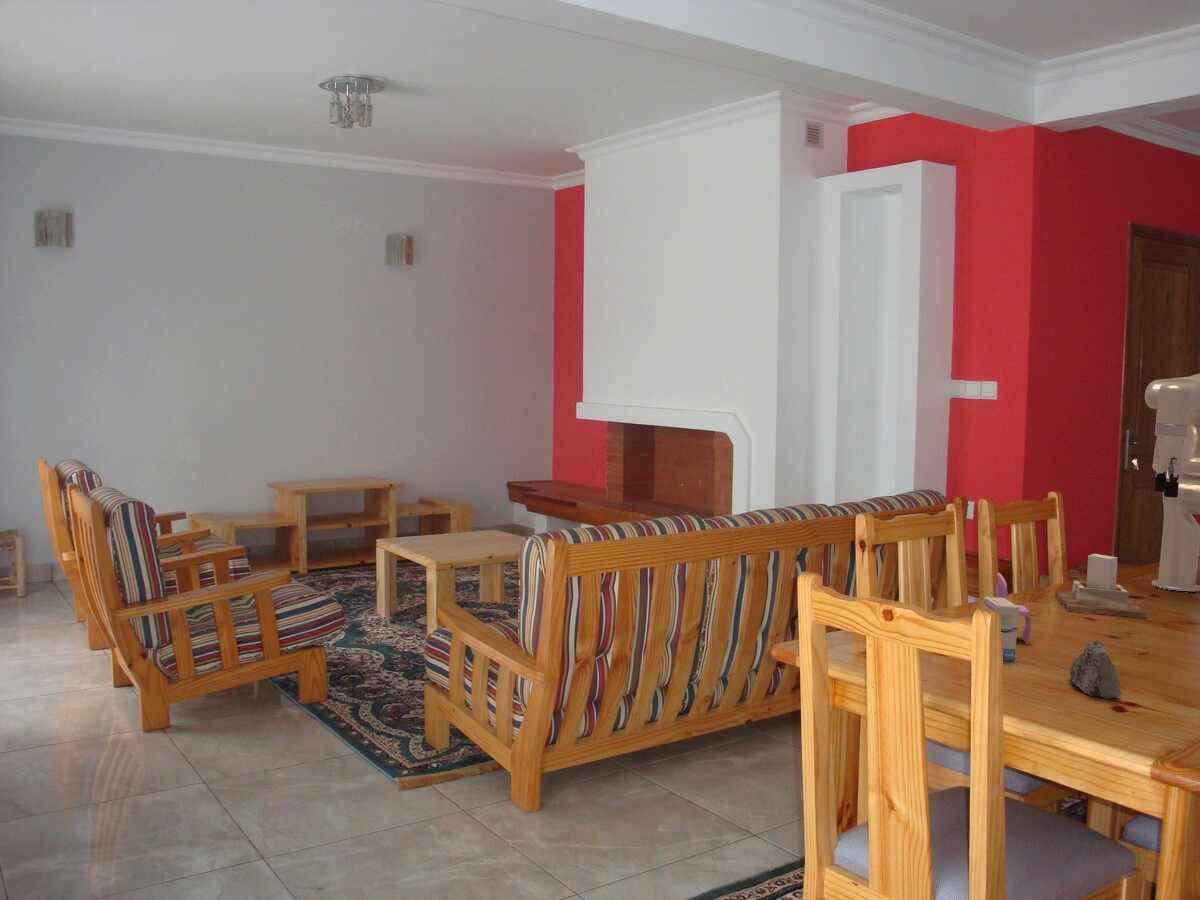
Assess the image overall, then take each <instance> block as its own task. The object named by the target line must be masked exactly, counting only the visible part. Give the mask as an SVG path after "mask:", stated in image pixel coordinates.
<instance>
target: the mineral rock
mask: <svg viewBox="0 0 1200 900" xmlns="http://www.w3.org/2000/svg"><path fill="white" fill-rule="evenodd" d="M1109 655H1110V654H1108V652H1107V649H1106V647H1105V644H1104V643H1103V642H1102V641H1101V640H1100V639H1096V640H1095V641H1092V642H1090V643H1089V644H1087V645H1086V646H1085V648H1084V651H1083V652H1082V653H1080V654H1079V656H1078V657H1076V658H1074V660H1073V661H1072V664H1071V667H1070V668H1069V675H1070V678H1071V682H1073V683H1074V685H1076V686H1077V687H1078V688H1079V689H1080V690H1081V691H1083V692H1084V694H1087V695H1089V697H1097V698H1098V697H1100V698H1103V699H1106V700H1107V699H1113V698H1119V697H1120V696H1121V693H1122V689H1121V681H1120V677H1119V673H1118V670H1117V666H1116V665H1115V664H1114V661H1113V660H1112V659H1111V657H1110V656H1109Z"/></svg>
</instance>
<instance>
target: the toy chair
mask: <svg viewBox="0 0 1200 900" xmlns="http://www.w3.org/2000/svg"><path fill="white" fill-rule="evenodd" d="M996 577H997V582H998V583H997V584H995V590H996V592H995V593H996V598H1005V599H1007V600H1008V598H1009V597H1010V596H1009V593H1008V587H1007V586H1008V585H1007V582H1006V580H1005V578H1004V576H1003V575H1002V574H1001V573H1000V572H997V573H996ZM1015 605H1016V606H1017V607H1019V614H1018V616H1024V617H1025V625H1024V629H1023V631H1022V634H1021V635H1020V638H1021V640H1024V641H1025V642H1024V641H1023V642H1024V643H1025V645H1029V641H1030V637H1031V631H1032V618H1031V616H1030V610H1028V609H1027V608H1026V606H1025V604H1023V605H1022V604H1015Z"/></svg>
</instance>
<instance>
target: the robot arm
mask: <svg viewBox="0 0 1200 900" xmlns="http://www.w3.org/2000/svg"><path fill="white" fill-rule="evenodd" d="M1144 400H1145V401H1144V402H1145V404H1146V405H1147V406H1148V408H1150V409H1154V410H1156V415H1155V416H1156V418H1155V427H1154V436H1156V441H1155V445H1154V450H1153V451H1154V452H1153V458H1152V459H1153V460H1152V467H1151V468H1152V469H1153V471H1154V472H1155V478H1154V489H1153V491H1154V492H1155V493H1156V492H1158V493H1162V502H1163V503H1162V504H1163V523H1162V524H1163V525H1162V534H1161V535H1162V536H1161V537H1162V538H1161V544H1160V545H1161V547H1160V555H1159V556H1160V559H1159V567H1158V579H1153V580H1151V585H1152V586H1153V585H1154V586H1153V587H1155V586H1157V587H1159V588H1158V589H1161V588H1163V589H1162V590H1165V589H1168V590H1167V591H1170V590H1177V591H1198V590H1200V585H1198V584H1197V574H1198V564H1199V555H1200V524H1199V522H1197V520H1196V519H1195V517H1194V516H1193V515H1200V373H1197V374H1193V375H1190V376H1185V377H1184V376H1183V377H1174V378H1173V377H1172V378H1162V379H1161V378H1159V379H1155V380H1153V381H1151V382H1150V383H1149V384H1148V385H1147V386H1146V389H1145V392H1144ZM1157 587H1156V588H1157ZM1177 591H1176V592H1177Z"/></svg>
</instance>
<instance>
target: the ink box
mask: <svg viewBox="0 0 1200 900" xmlns="http://www.w3.org/2000/svg"><path fill="white" fill-rule="evenodd" d="M1016 605H1017V604H1014V603H1013V602H1011V601H1010V600H1008V598H1007V599H1005V598H997V596H996V597H995V596H993V597H992V596H983V598H982V609H984V610H989V611H996V612H998V613H999V615H1000V617H1001V632H1002V649H1003V660H1002V661H1005V662H1006V661H1009V662H1010V661H1012V662H1015V661H1016V652H1017V651H1016V649H1017V638H1018V636H1017V635H1018V623H1019V615H1018V614H1019V607H1017V606H1016Z"/></svg>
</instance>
